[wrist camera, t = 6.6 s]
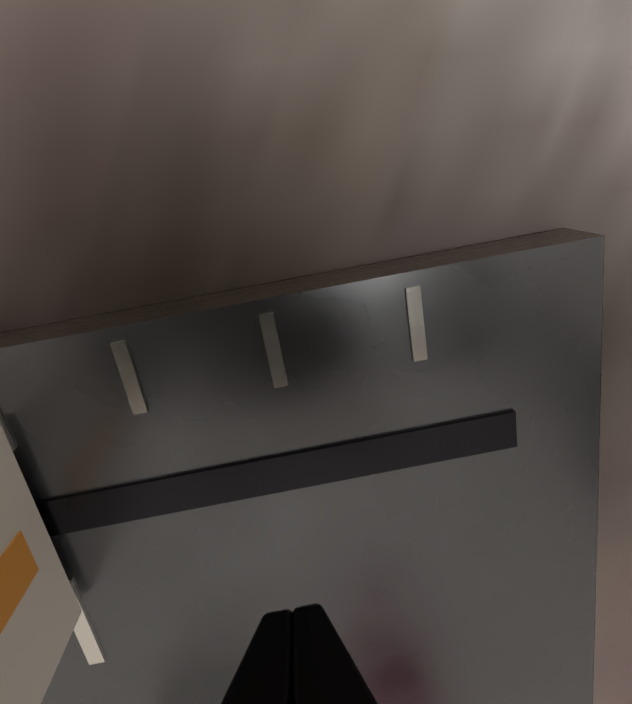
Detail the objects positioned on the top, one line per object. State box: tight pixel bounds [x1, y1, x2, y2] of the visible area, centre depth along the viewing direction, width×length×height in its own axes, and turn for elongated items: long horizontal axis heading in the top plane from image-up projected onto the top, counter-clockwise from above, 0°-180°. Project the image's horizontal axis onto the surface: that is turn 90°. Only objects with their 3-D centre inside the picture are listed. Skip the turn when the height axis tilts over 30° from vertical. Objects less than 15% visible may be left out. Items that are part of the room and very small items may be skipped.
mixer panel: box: [0, 228, 604, 704], centre depth 14 cm, size 17×20×2 cm
